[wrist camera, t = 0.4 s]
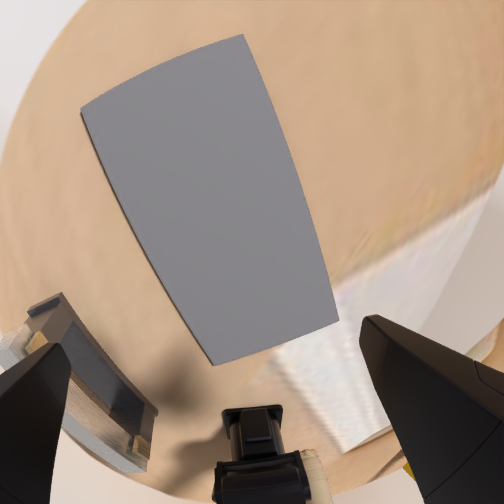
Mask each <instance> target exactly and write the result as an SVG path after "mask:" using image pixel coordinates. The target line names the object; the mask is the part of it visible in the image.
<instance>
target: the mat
mask: <svg viewBox="0 0 504 504" xmlns="http://www.w3.org/2000/svg"><path fill="white" fill-rule="evenodd" d="M80 109H81V112H82V115H83V117H84V120H85V123H86V125H87V128H88V130H89V133H90V135H91V138H92V140H93V143H94V145H95V148H96V150H97V152H98V155H99V157H100V160H101V162H102V164H103V166H104V169H105V171H106V173H107V176H108V178H109V180H110V182H111V184H112V187H113V189H114V191H115V193H116V195H117V197H118V199H119V201H120V204H121V206H122V208H123V210H124V212H125V214H126V216H127V218H128V220H129V222H130V224H131V226H132V228H133V230H134V232H135V234H136V236H137V237H138V239H139V241H140V243H141V245H142V247H143V249H144V251H145V253H146V254H147V256H148V258H149V260H150V262H151V264H152V265H153V267H154V269H155V271H156V273H157V274H158V276H159V278H160V280H161V281H162V283H163V285H164V287H165V288H166V290H167V292H168V293H169V295H170V297H171V298H172V300H173V302H174V304H175V305H176V307H177V308H178V310H179V312H180V313H181V315H182V317H183V318H184V320H185V321H186V323H187V325H188V326H189V328H190V329H191V331H192V333H193V334H194V336H195V337H196V339H197V340H198V342H199V343H200V345H201V346H202V348H203V349H204V351H205V353H206V354H207V356H208V357H209V358H210V360H211V361H212V363H213V364H214V366H217V365H220V364H223V363H227V362H230V361H233V360H236V359H239V358H242V357H245V356H248V355H251V354H254V353H257V352H260V351H263V350H266V349H268V348H271V347H274V346H277V345H280V344H282V343H285V342H288V341H290V340H293V339H296V338H298V337H301V336H303V335H306V334H308V333H311V332H313V331H316V330H318V329H321V328H323V327H326V326H328V325H331V324H333V323H335V322H338V321H339V317H338V312H337V308H336V304H335V300H334V296H333V292H332V289H331V285H330V281H329V277H328V274H327V270H326V266H325V263H324V259H323V255H322V252H321V248H320V245H319V241H318V238H317V235H316V231H315V228H314V224H313V221H312V218H311V215H310V211H309V208H308V205H307V202H306V199H305V196H304V192H303V189H302V186H301V183H300V180H299V177H298V174H297V171H296V168H295V165H294V162H293V159H292V157H291V154H290V151H289V148H288V145H287V142H286V140H285V137H284V134H283V131H282V129H281V126H280V123H279V121H278V118H277V115H276V113H275V110H274V107H273V105H272V102H271V100H270V97H269V95H268V92H267V90H266V87H265V85H264V82H263V80H262V77H261V75H260V72H259V70H258V68H257V65H256V63H255V60H254V58H253V56H252V53H251V51H250V49H249V47H248V44H247V42H246V40H245V37H244V35H243V34H241V35H237V36H234V37H231V38H228V39H224V40H221V41H218V42H215V43H212V44H210V45H207V46H204V47H201V48H198V49H196V50H193V51H191V52H188V53H186V54H183V55H181V56H178V57H176V58H173V59H171V60H169V61H166V62H164V63H162V64H160V65H158V66H155V67H153V68H151V69H149V70H147V71H145V72H143V73H141V74H139V75H137V76H135V77H133V78H131V79H129V80H127V81H125V82H123V83H122V84H120V85H118V86H116V87H114V88H113V89H111V90H109V91H107V92H106V93H104V94H102V95H101V96H99V97H97V98H96V99H94V100H92V101H91V102H89V103H88V104H86V105H84V106H83V107H81V108H80Z"/></svg>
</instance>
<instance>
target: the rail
mask: <svg viewBox="0 0 504 504" xmlns="http://www.w3.org/2000/svg"><path fill="white" fill-rule="evenodd" d="M33 336H34V334H33V332H32V331H31V330H30V328H29V327H28V326H27V324H26V323H25V324H23V325H21V326H19V327H17V328H14V329H12V330H10V331H8V332H7V334H6V335H5V336H4V338H3V339H2V340H1V342H0V365H1V366H2V367H3V369H4V370H5V371H6V370H8V369H9V368H11V367H12V366H14V365H15V364H16V363H18V362H19V361H21V360H22V359H24V358H25V357H27V356H28V355H30V354H29V353H28V352H27V350H26V349H25V348H26V346H27V345H28V343H29V342H30V340H31V339H32V337H33ZM61 427H62V428H63V429H64V430H66V431H67V432H68V433H69V434H70V435H72V436H73V437H74V438H75V439H77V440H78V441H79V442H80V443H82V444H83V445H84V446H86V447H87V448H88V449H90V450H91V451H92V452H94V453H95V454H97V455H98V456H99V457H101V458H102V459H104V460H105V461H107V462H108V463H110V464H111V465H113V466H114V467H116V468H117V469H119V470H120V471H122V472H123V473H143V472H146V471H147V461H148V460H143V459H142V458H140V457H139V456H138V455H136V454H135V453H133V452H132V450H133V443H134V437H132V436H131V435H130V434H129V433H128V432H126V431H125V430H124V429H123V428H122V427H120V426H119V425H118V424H117V423H116V422H115V421H114V420H112V419H111V418H110V417H109V416H108V415H107V414H106V413H105V412H104V411H102V410H101V409H100V408H99V407H98V406H97V405H96V404H95V403H94V402H93V401H92V400H91V399H90V398H89V397H88V396H87V395H86V394H85V393H84V392H83V391H82V390H81V389H80V388H79V387H78V386H77V385H76V384H75V383H74V382H73V381H72V379H71V378H70V380H69V386H68V393H67V399H66V406H65V411H64V416H63V421H62V425H61Z"/></svg>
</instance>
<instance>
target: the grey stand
mask: <svg viewBox="0 0 504 504" xmlns="http://www.w3.org/2000/svg"><path fill="white" fill-rule="evenodd" d="M27 313H28V314H29V318H28V319H27V320H26V322H25V323H26V324H27V326H28V327H29V328H30V330H31V331H32V332H33V334H34V336H33V337H32V339H31V340H30V342H29V343H28V345H27V346H26V348H25V349H26V350H27V352H28V353H29V354H31V353H33V352H34V351H36V350H37V349H39V348H40V347H41V346H43V345H44V344H46V343H48V342H59V343H60V344H61V345H62V346H63V349H64V351H65V353H66V354H67V356H68V358H69V360H70V362H71V369H72V370H73V371H74V373H75V374H76V375H77V376H78V377H79V378H80V379H81V380H82V381H83V382H84V383H85V385H86V386H87V387H88V388H89V389H90V390H91V391H92V392H93V393H94V394H95V395H96V396H97V397H98V398H99V399H100V400H101V401H102V402H103V403H104V404H105V405H106V406H107V407H108V408H110V409H111V410H110V414H109V417H110V418H111V419H112V420H114V421H115V422H116V423H117V424H118V425H119V426H120V427H122V428H123V429H124V430H125V431H126V432H128V433H129V434H130V435H131V436H132V437H134V443H133V450H132V452H133V453H135V454H136V455H138V456H139V457H140V458H142V459H143V460H149V458H150V449H151V440H152V432H153V424H154V417H155V416H157V415H158V410H157V409H156V408H155V407H154V406H153V405H152V404H151V403H150V402H149V401H148V400H147V399H146V398H145V397H144V396H143V395H142V394H141V393H140V392H139V391H138V390H137V388H136V387H135V386H134V385H133V384H132V383H131V382H130V381H129V380H128V379H127V378H126V376H125V375H124V374H123V373H122V372H121V371H120V370H119V368H118V367H117V366H116V365H115V364H114V362H113V361H112V360H111V359H110V358H109V356H108V355H107V354H106V353H105V352H104V350H103V349H102V348H101V347H100V345H99V344H98V343H97V341H96V340H95V339H94V338H93V336H92V335H91V334H90V332H89V331H88V330H87V328H86V327H85V325H84V324H83V323H82V321H81V320H80V319H79V317H78V316H77V314H76V313H75V311H74V310H73V309H72V307H71V306H70V304H69V303H68V301H67V300H66V298H65V297H64V295H63V293H62V292H60V293H58V294H56V295H54V296H52V297H50V298H48V299H46V300H44V301H42V302H40V303H38V304H36V305H34V306H32V307H30V309H29V310H28V311H27ZM25 323H24V324H25Z"/></svg>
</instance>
